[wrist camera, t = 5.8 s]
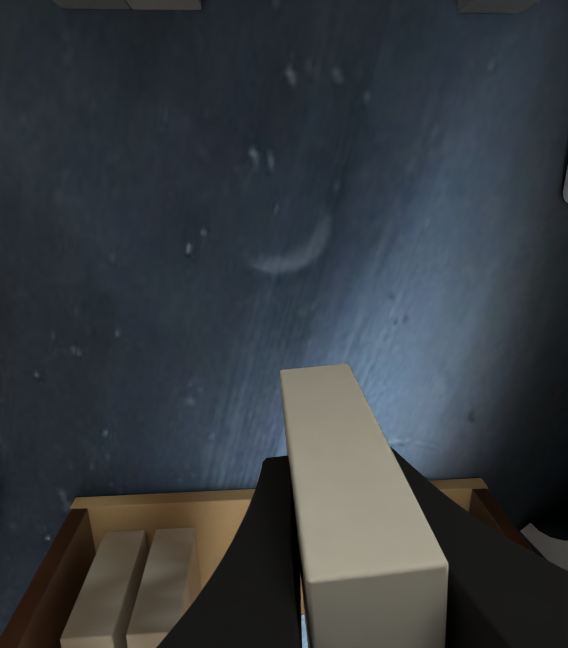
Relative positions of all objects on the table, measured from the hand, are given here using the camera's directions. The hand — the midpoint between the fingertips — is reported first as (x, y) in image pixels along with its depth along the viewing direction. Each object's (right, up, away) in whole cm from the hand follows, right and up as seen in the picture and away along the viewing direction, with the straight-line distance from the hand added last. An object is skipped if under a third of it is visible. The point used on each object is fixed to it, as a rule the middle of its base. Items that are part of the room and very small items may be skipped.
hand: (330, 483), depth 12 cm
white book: (0, +1, +2) cm, 2 cm away
